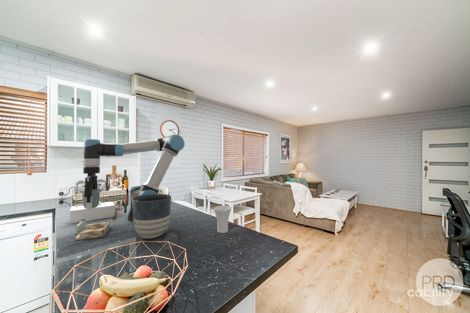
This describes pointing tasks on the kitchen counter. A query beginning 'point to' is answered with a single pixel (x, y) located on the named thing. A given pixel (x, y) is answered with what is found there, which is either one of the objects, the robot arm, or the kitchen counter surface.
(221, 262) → the kitchen counter surface
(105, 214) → the tissue box
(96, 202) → the cup
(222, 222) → the cup
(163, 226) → the planter
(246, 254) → the kitchen counter surface
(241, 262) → the kitchen counter surface
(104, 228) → the tray
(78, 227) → the gate
